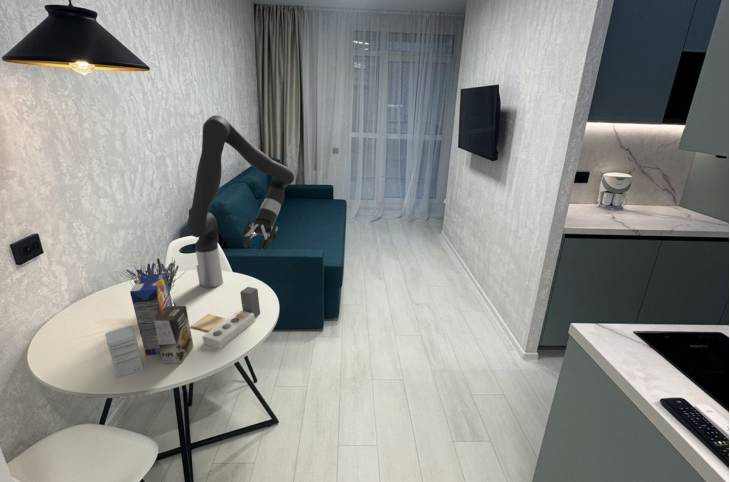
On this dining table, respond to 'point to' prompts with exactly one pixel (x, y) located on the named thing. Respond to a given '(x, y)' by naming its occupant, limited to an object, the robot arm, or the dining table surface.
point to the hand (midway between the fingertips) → (253, 247)
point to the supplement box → (124, 351)
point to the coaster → (208, 322)
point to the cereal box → (150, 307)
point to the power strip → (228, 329)
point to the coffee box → (174, 334)
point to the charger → (250, 300)
